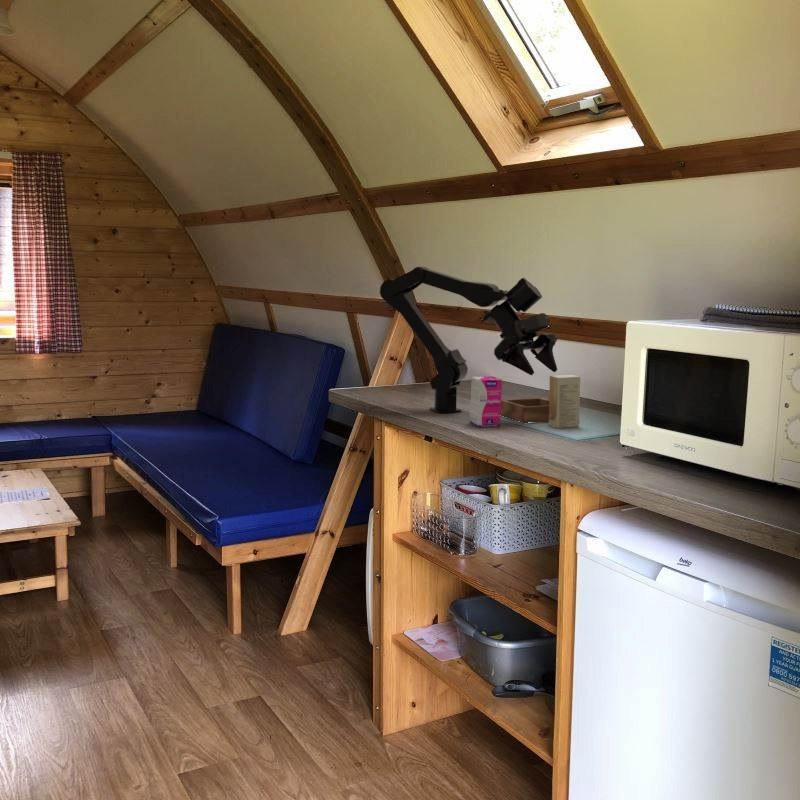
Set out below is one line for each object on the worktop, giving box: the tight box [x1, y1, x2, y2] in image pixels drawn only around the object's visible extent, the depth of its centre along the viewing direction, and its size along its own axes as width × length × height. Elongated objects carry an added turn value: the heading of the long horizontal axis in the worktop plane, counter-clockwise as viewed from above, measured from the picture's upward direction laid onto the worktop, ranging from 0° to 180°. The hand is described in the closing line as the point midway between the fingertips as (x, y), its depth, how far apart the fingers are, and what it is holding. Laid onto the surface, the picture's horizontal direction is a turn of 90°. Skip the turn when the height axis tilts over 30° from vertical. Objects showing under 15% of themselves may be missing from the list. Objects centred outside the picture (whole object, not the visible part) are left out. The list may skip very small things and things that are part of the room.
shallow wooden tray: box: [500, 397, 549, 424], centre depth 222 cm, size 12×12×4 cm
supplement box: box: [469, 375, 503, 428], centre depth 211 cm, size 6×6×12 cm
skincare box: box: [548, 374, 581, 429], centre depth 211 cm, size 6×4×12 cm
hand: (544, 372), depth 215 cm, fingers open, 9 cm apart
